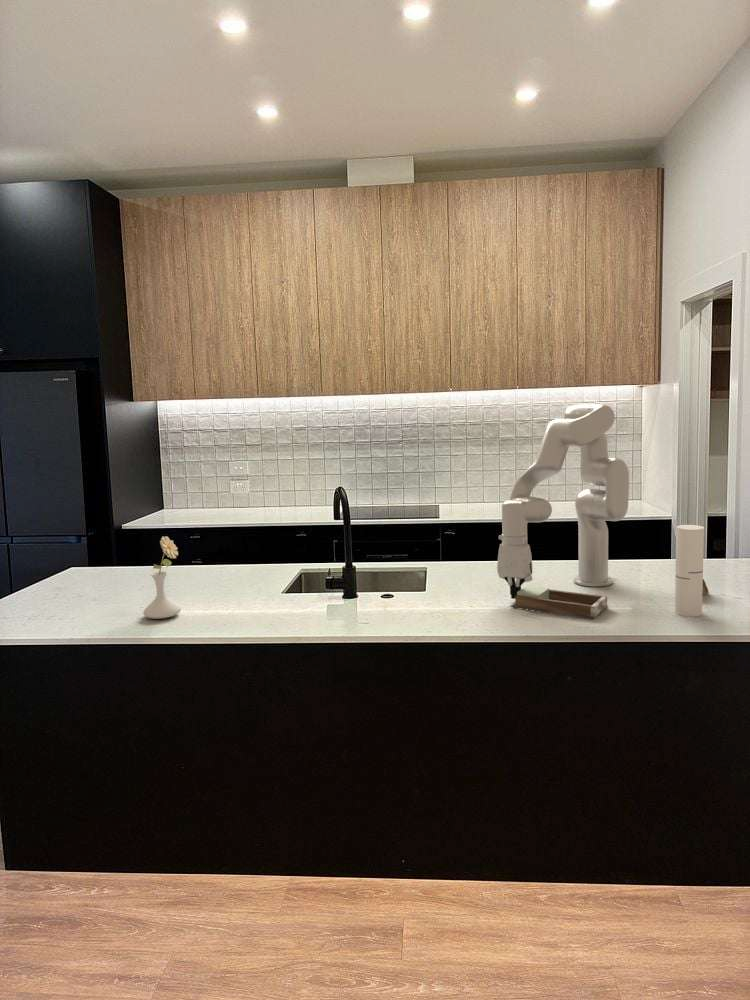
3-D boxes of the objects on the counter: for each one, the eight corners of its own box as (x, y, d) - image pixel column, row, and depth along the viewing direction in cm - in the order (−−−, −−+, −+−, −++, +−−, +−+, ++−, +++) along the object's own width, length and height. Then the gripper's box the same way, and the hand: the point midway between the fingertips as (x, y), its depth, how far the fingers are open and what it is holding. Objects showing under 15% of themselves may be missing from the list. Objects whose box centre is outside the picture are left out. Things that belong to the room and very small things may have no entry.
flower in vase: (161, 624, 217) (153, 543, 213) (135, 619, 223) (128, 540, 219) (193, 611, 228) (186, 534, 224) (168, 607, 234) (161, 532, 230)
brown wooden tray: (528, 596, 228) (527, 585, 227) (607, 607, 214) (608, 595, 213) (511, 607, 217) (510, 596, 217) (593, 619, 203) (594, 607, 203)
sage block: (527, 596, 225) (527, 585, 225) (549, 599, 221) (549, 588, 221) (517, 603, 219) (517, 592, 218) (538, 606, 215) (538, 595, 214)
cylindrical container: (704, 616, 202) (706, 529, 198) (677, 616, 203) (679, 529, 200) (698, 608, 209) (700, 524, 205) (672, 608, 210) (674, 524, 206)
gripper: (487, 540, 222) (488, 597, 225) (532, 544, 213) (533, 604, 216) (497, 536, 228) (499, 591, 231) (542, 539, 219) (543, 597, 222)
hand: (515, 597), depth 223 cm, fingers closed
